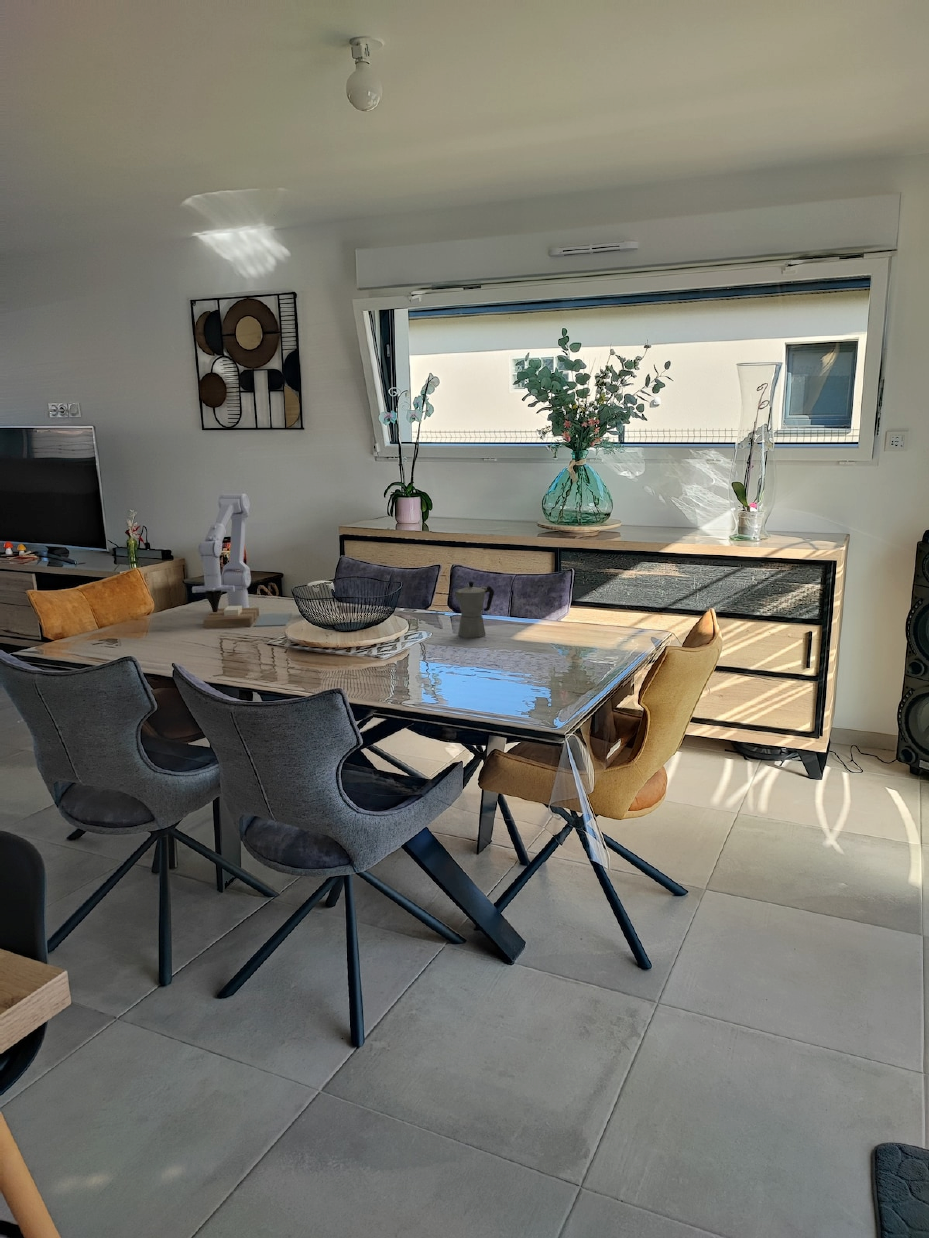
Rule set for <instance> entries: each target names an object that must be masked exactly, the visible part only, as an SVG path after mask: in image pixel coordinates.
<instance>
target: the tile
mask: <svg viewBox="0 0 929 1238" xmlns="http://www.w3.org/2000/svg"><path fill="white" fill-rule="evenodd" d="M241 612H242V606H228V605H227V606H226V607H225V609H224V616H231V615H239V614H240V613H241Z"/></svg>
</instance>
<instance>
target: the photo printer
mask: <svg viewBox="0 0 929 1238" xmlns="http://www.w3.org/2000/svg"><path fill="white" fill-rule="evenodd" d="M324 582H331V581H329V580H315V581H311V582H309V583H307V585H306V587H307V586H312V585H317V584H320V583H324ZM326 585H329V588H330V589H333V590H334V591H335V586H334V585H335V584H334V582H332V583H331V584H326ZM317 587H319V586H317ZM313 590H314V591H315V592H318V591H319V588H314V587H313Z"/></svg>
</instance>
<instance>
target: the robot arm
mask: <svg viewBox="0 0 929 1238" xmlns="http://www.w3.org/2000/svg"><path fill="white" fill-rule="evenodd" d="M217 502H218V508H219V510H218V512H217V513H218V514H217V517H216V521H215V523H213V524H211V525H210V527H209V529H208V532H207V534H206V536H205V539H204V540H202V541H201V542H200V543H199V545H198V555H199V556H200V562H202V569H203V570H202V571H203V579H204V585H199V586H196V585H195V586H192V588H191V591H192V593H193V594H194V593H195V594H196V593H204V595H205V598H206V599H207V600H208V602H209V605H210V606H211V607H210V608H211V612H212V611H213V612H217V611H218V609H219V604H220V601H221V597H222V594H223V592H226V595H227V606H242V608H252V606H250V605H249V603H250V602H249V592H248V588H249V587H250V585H251V582H252V576H251V568H250V567H249V566H248V565H247V564H246V563H245V562H244V557H245V554H244V553H245V540H246V524H247V518H248V517H250V504H251V503H250V499H249V497H248V495H247V494H246V493H221V494H220V495H219V497H218V501H217ZM229 520H231V530H230V544H229V545H230V548H229V550H230V551H229V562H227V563H226V564H225V565H224V566H222V573H221V565H220V564H221V563H220V561H221V560H220V556H221V554H222V551H223V541H224V538H225V536H226V534H227V530H226V526H227V524H228V522H229Z"/></svg>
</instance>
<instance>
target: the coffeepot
mask: <svg viewBox="0 0 929 1238" xmlns="http://www.w3.org/2000/svg"><path fill="white" fill-rule="evenodd" d="M468 585H469V586H467V587H463V588H460V589H457V590H456V591H455V592H453V595H454V596H455V598H456V599H457V601H458V603H459V608H460V609H459V610H460V611H461V615H460V618H459V619H460V620H459V625H458V626H459V627H458V632H457V633H458V636H459V637H460V638H465V639H477V638H482V637H484V636H486V630H485V629H486V628H485V623H484V618H483V613H482V611H484V612H488V611H490V609H491V605H492V602H493V598H494V595H495V590H494V589H493V588H492V587H491V586H490V585H487V586H481V587H475V586H474V581H472V580H471V581H468ZM486 593H489V594H488V596H487V597H488V598H487V602H486V607H484V604H485V603H484V601H485V596H486Z"/></svg>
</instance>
